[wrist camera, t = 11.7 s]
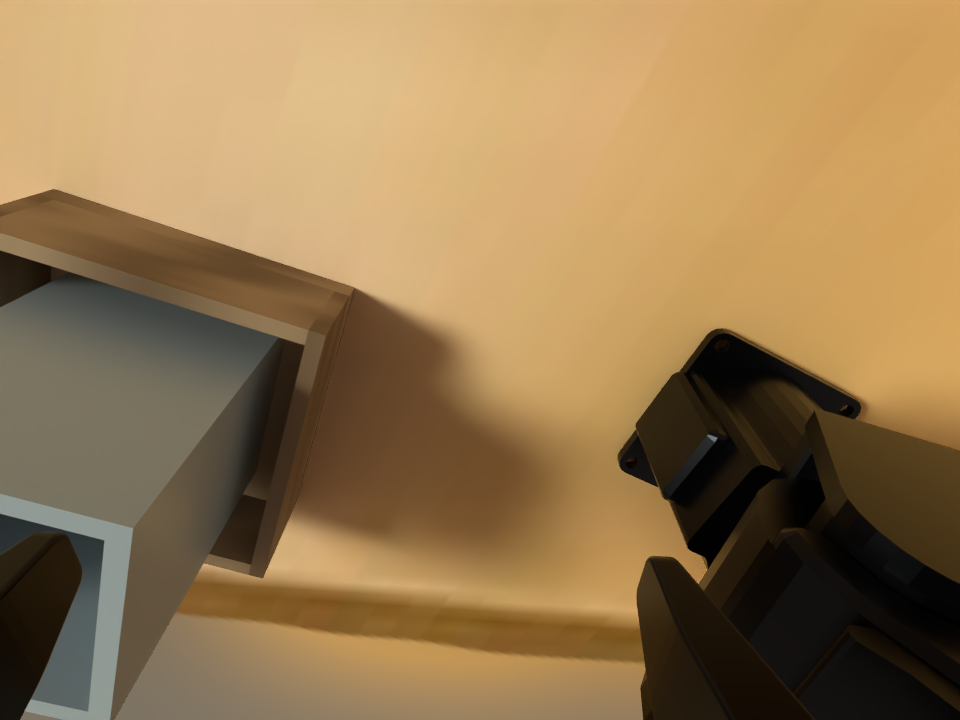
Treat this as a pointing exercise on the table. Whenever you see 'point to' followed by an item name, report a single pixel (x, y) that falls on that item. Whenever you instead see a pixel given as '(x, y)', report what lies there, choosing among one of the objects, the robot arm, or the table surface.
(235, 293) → the walnut crate
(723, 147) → the table surface
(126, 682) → the grey crate
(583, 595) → the table surface
